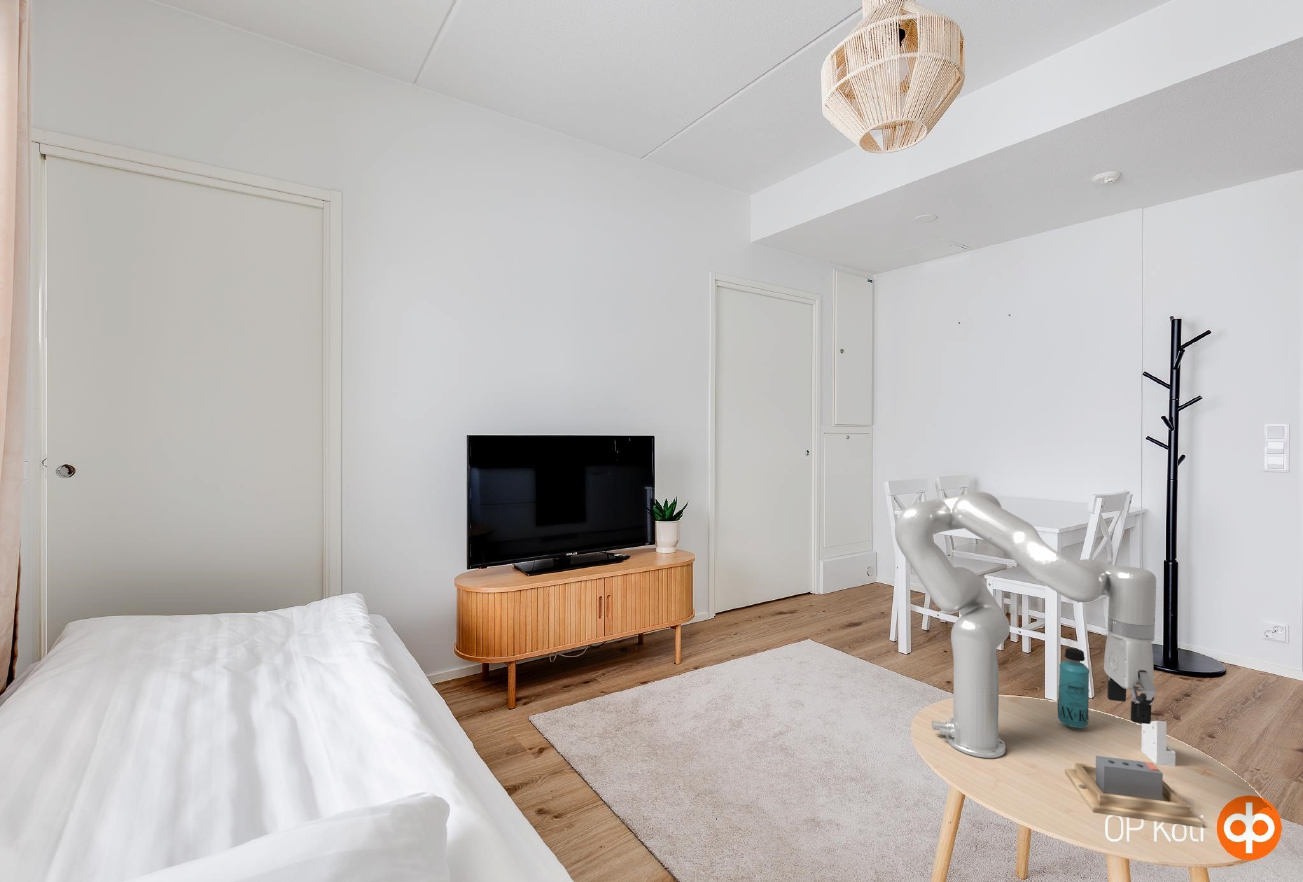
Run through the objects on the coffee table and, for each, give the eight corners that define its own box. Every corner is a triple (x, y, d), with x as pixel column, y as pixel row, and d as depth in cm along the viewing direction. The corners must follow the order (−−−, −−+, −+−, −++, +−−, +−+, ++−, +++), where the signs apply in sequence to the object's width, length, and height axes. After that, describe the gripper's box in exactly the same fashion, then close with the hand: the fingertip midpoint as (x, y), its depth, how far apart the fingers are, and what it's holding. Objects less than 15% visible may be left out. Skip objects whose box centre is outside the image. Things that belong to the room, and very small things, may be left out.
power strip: (1103, 794, 124) (1104, 764, 123) (1095, 783, 127) (1095, 754, 127) (1162, 803, 121) (1162, 772, 121) (1151, 791, 125) (1152, 761, 124)
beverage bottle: (1052, 720, 156) (1053, 644, 156) (1080, 722, 155) (1081, 645, 155) (1065, 733, 150) (1066, 653, 149) (1095, 735, 149) (1096, 655, 148)
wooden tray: (1093, 812, 120) (1093, 797, 119) (1064, 772, 133) (1064, 759, 133) (1202, 827, 115) (1202, 811, 115) (1161, 784, 128) (1161, 771, 128)
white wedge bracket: (1169, 764, 132) (1157, 720, 136) (1144, 764, 140) (1134, 723, 145) (1188, 766, 131) (1175, 722, 135) (1162, 766, 140) (1151, 725, 144)
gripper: (1090, 613, 133) (1088, 690, 133) (1130, 641, 116) (1127, 729, 116) (1130, 617, 131) (1128, 694, 131) (1177, 645, 114) (1174, 734, 114)
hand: (1128, 710), depth 124 cm, fingers open, 9 cm apart
